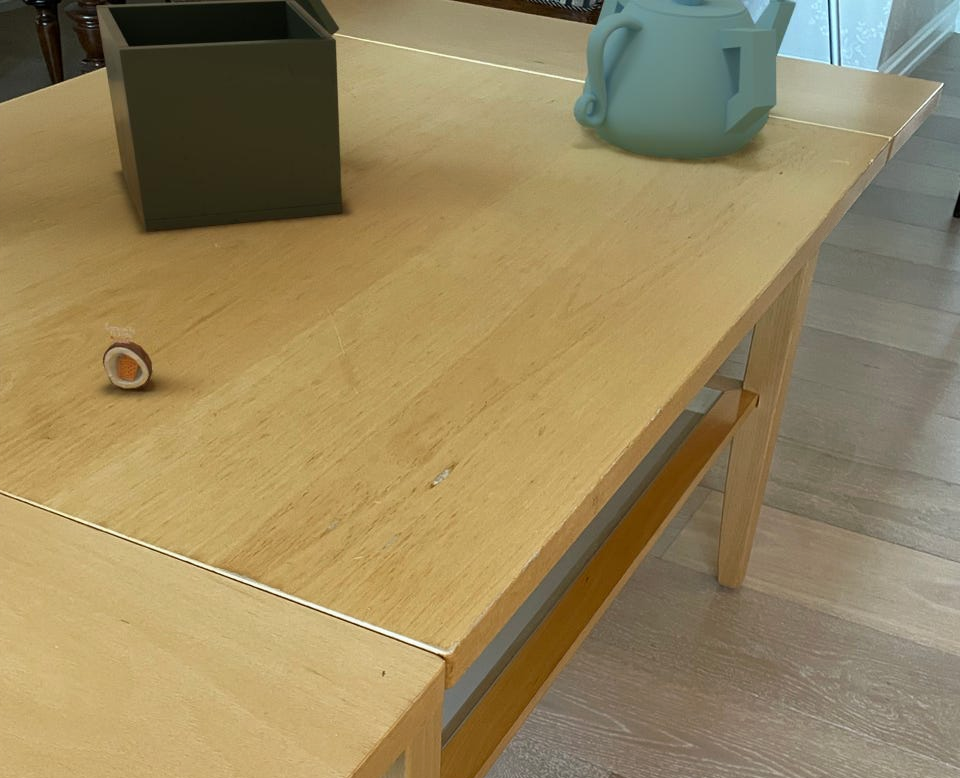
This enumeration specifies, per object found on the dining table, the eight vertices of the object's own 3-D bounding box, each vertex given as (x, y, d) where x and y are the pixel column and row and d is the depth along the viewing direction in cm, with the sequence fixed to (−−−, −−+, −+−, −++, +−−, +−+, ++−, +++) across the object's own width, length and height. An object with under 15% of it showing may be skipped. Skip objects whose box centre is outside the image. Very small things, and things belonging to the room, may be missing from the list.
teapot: (752, 177, 104) (784, 5, 95) (547, 149, 108) (559, -18, 99) (774, 119, 118) (803, -35, 109) (591, 96, 122) (605, -54, 113)
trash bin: (146, 231, 89) (119, 49, 80) (122, 173, 98) (96, 5, 90) (342, 213, 93) (336, 39, 85) (301, 158, 103) (292, -2, 94)
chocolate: (165, 378, 71) (156, 317, 68) (150, 395, 69) (140, 333, 67) (119, 372, 71) (109, 311, 69) (104, 389, 70) (92, 327, 67)
